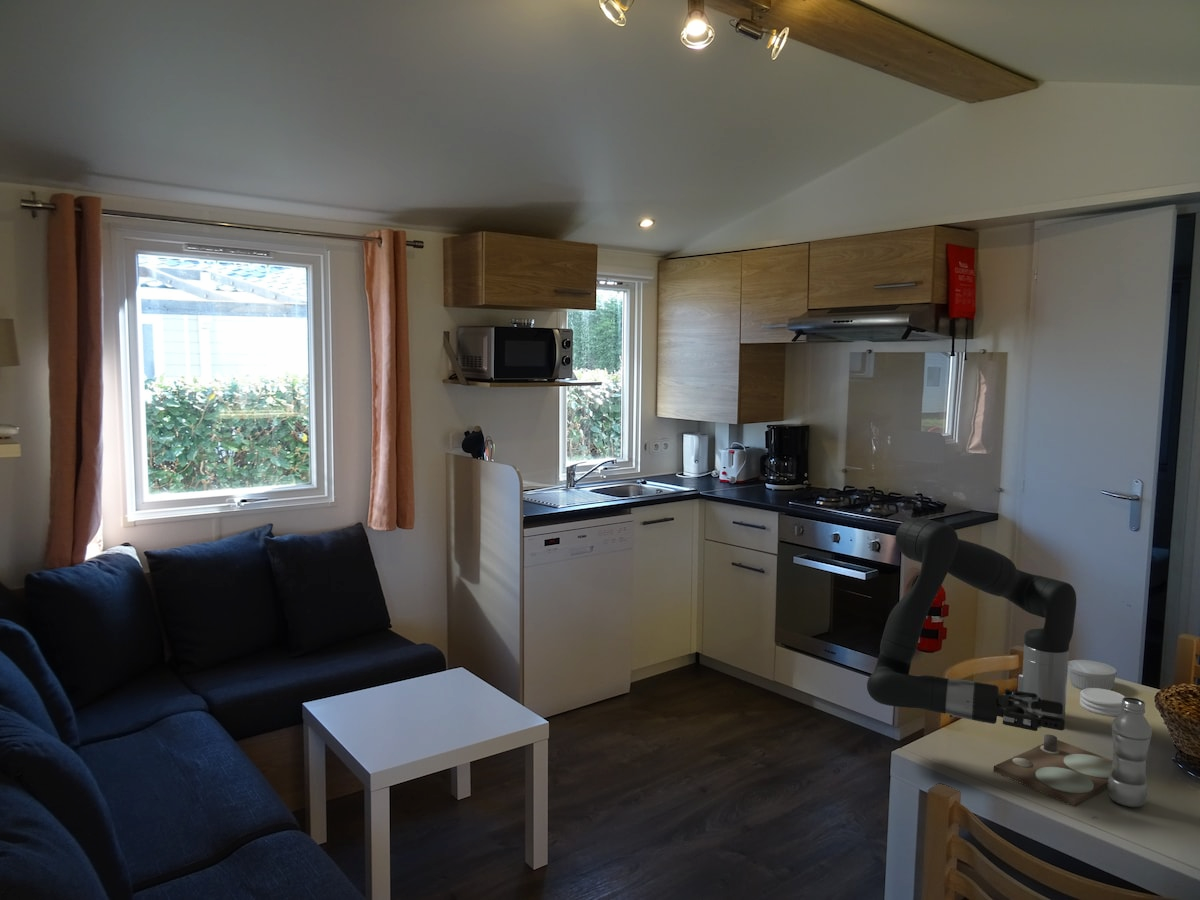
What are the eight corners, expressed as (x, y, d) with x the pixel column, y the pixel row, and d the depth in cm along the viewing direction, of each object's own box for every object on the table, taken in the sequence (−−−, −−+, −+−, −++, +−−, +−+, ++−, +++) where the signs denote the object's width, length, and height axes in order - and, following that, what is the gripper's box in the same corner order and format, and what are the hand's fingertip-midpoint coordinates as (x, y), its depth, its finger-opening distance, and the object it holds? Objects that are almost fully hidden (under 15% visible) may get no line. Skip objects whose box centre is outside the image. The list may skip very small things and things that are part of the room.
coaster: (1102, 699, 207) (1103, 685, 207) (1137, 715, 198) (1138, 700, 197) (1069, 703, 205) (1070, 689, 204) (1103, 719, 195) (1104, 705, 195)
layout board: (993, 771, 169) (994, 751, 169) (1054, 744, 182) (1055, 725, 181) (1073, 806, 156) (1075, 784, 156) (1133, 773, 169) (1134, 753, 168)
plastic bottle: (1149, 802, 158) (1157, 700, 156) (1143, 816, 153) (1151, 711, 151) (1110, 790, 162) (1117, 691, 160) (1102, 803, 157) (1110, 701, 155)
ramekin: (1055, 682, 218) (1057, 663, 217) (1082, 675, 223) (1083, 656, 222) (1098, 697, 208) (1099, 677, 207) (1125, 690, 213) (1126, 670, 212)
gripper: (970, 694, 161) (1066, 710, 154) (974, 671, 174) (1063, 685, 166) (968, 731, 162) (1063, 749, 154) (972, 706, 174) (1060, 722, 167)
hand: (1063, 716), depth 160 cm, fingers open, 8 cm apart
